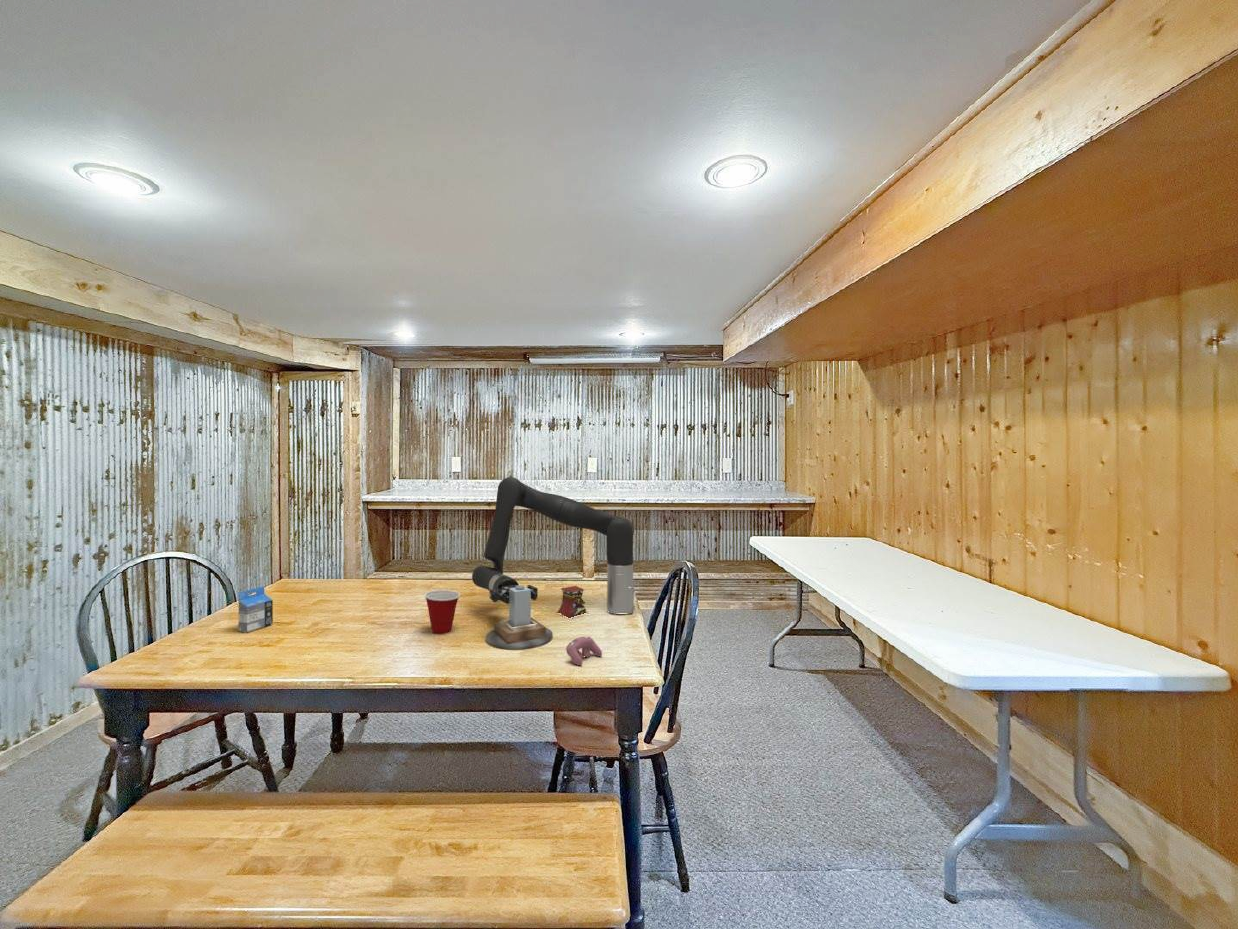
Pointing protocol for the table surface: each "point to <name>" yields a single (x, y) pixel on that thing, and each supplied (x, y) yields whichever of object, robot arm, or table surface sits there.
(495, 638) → the tower base
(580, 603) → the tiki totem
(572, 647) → the purple curved piece
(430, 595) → the plastic cup
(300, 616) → the table surface
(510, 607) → the slate block
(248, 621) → the ink cartridge box
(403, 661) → the table surface
